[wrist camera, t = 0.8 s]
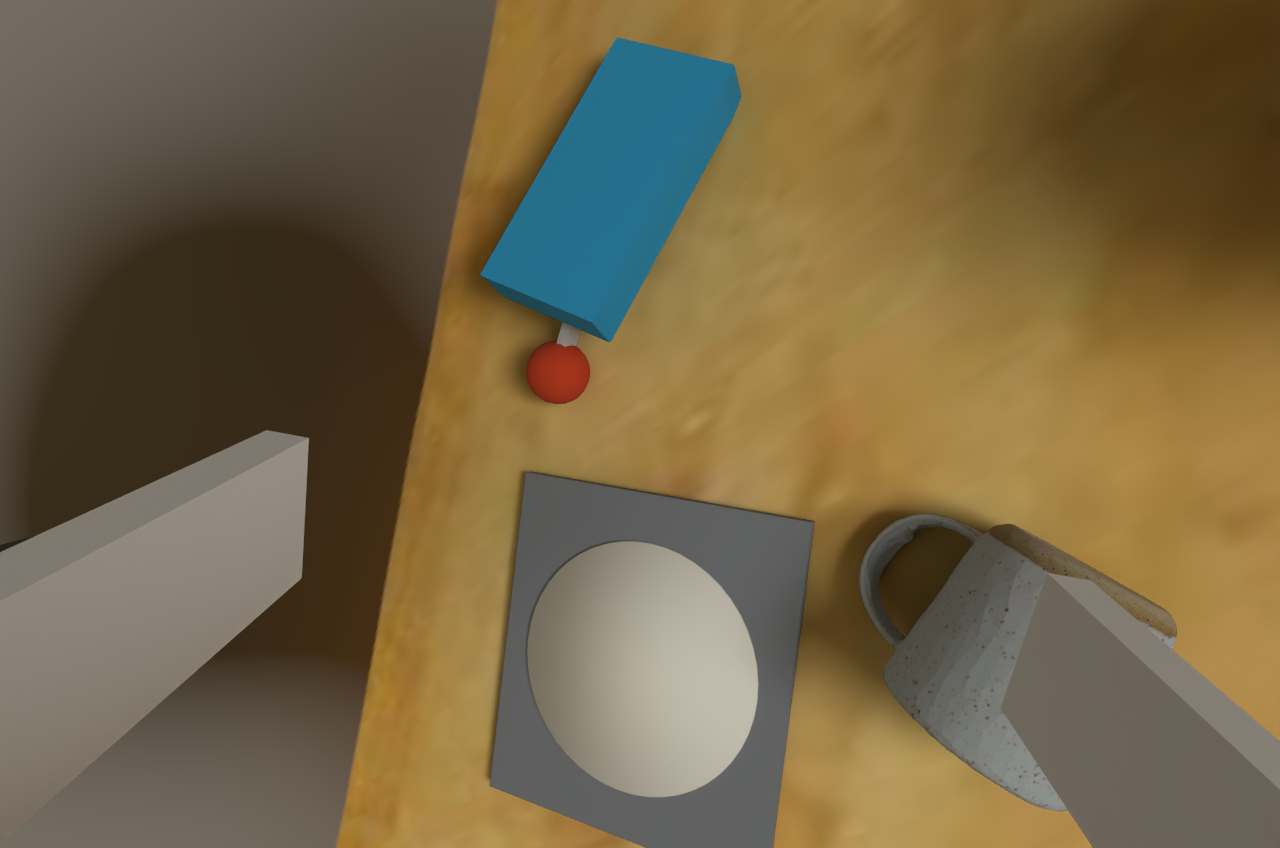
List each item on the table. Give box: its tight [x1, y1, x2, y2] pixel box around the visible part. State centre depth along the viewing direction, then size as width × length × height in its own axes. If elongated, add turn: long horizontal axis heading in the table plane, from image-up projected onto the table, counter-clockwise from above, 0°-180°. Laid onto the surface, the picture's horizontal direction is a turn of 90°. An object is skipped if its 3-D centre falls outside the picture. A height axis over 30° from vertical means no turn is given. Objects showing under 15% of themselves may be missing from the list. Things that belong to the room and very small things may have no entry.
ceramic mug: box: [859, 514, 1177, 812], centre depth 28 cm, size 11×8×8 cm
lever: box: [481, 38, 741, 404], centre depth 38 cm, size 7×7×18 cm
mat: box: [490, 472, 815, 848], centre depth 38 cm, size 18×16×1 cm
